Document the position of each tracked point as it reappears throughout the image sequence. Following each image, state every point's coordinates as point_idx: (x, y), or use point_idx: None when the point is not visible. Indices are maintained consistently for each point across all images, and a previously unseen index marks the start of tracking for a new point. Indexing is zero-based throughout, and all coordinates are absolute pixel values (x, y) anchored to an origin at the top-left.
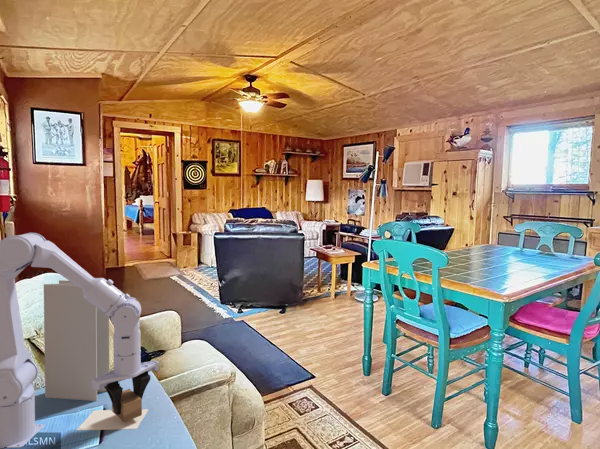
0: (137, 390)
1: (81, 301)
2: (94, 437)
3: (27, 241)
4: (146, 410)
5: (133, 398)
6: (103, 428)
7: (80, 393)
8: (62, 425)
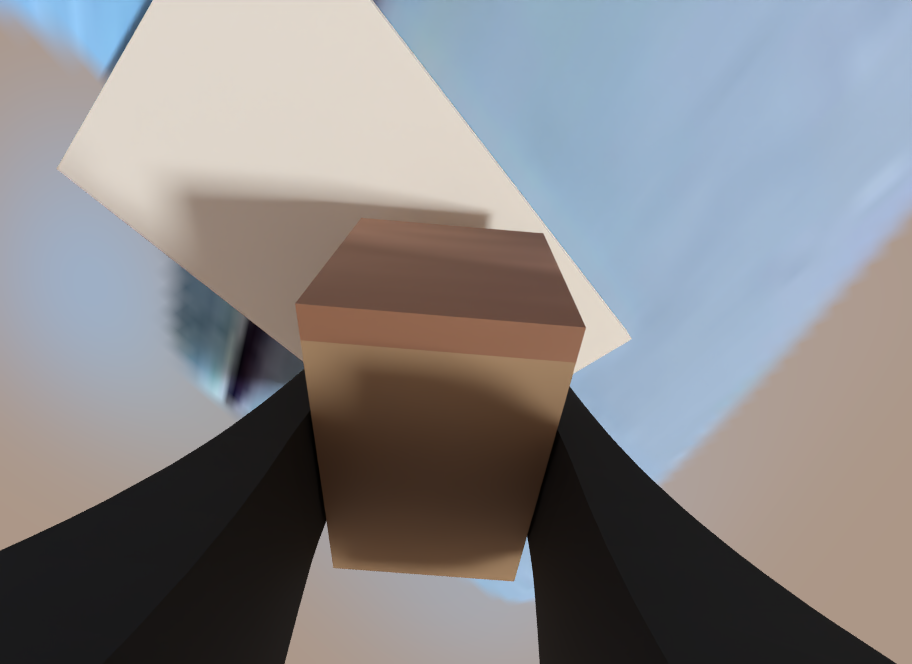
0: (548, 566)
1: None
2: (204, 332)
3: None
4: (608, 341)
5: (459, 543)
6: (264, 315)
7: None
8: None
